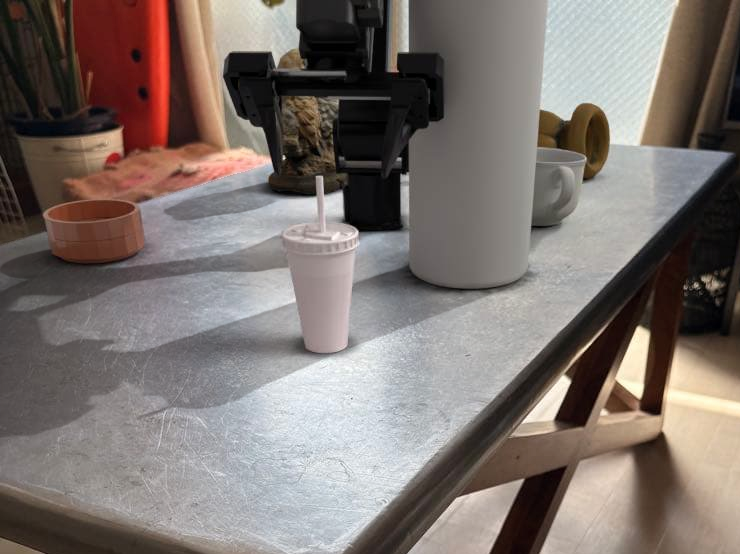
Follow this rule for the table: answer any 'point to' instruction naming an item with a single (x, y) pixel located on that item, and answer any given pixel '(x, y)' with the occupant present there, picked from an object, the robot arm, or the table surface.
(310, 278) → the smoothie
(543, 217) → the teacup
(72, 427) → the table surface
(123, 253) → the bowl
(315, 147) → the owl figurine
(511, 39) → the cylinder vase
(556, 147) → the brown looped sculpture
